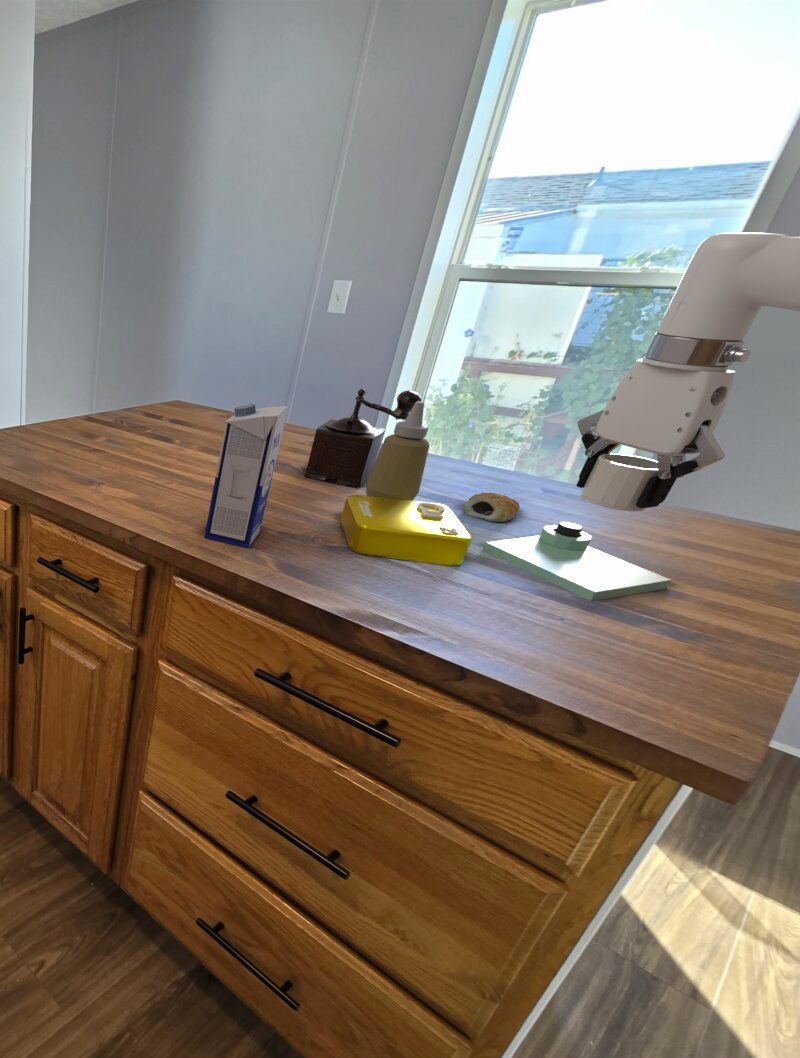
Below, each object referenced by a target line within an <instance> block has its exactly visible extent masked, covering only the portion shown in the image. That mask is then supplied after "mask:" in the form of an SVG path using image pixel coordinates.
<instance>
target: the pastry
mask: <svg viewBox="0 0 800 1058" xmlns="http://www.w3.org/2000/svg"><path fill="white" fill-rule="evenodd" d="M461 508H462V510H463V514H464V515H466V516H470V517H472V518H475V519H482V520H485V521H487V522H495V523H505V522H507V521H511V520H512V519H513V518H514V517H515V516H516V514H517V513H518V512H519V510H520V503H519V502H518V500H515V499H514V498H510V496H508V495H505V494H501V493H496V492H491V491H490V492H480V493H476V494H474V495H472V496H471V497H469V498H468V500H467V502H465V503H464V504H462V506H461Z"/></svg>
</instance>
